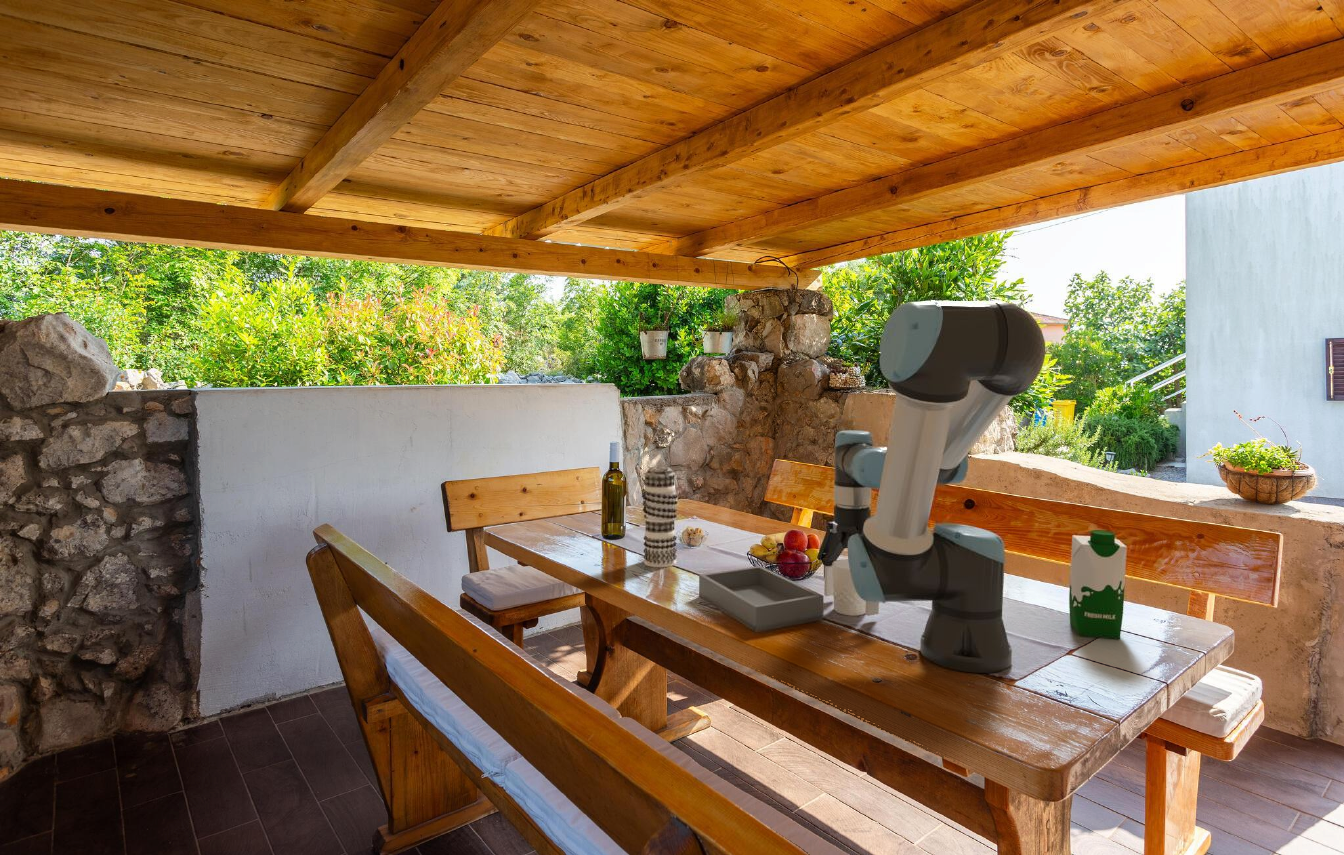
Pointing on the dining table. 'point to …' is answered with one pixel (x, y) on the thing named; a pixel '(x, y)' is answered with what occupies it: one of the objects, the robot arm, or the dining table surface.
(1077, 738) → the dining table surface
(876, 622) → the dining table surface
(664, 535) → the decorative candle
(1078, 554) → the milk carton
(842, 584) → the white cup
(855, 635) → the dining table surface
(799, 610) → the bin
